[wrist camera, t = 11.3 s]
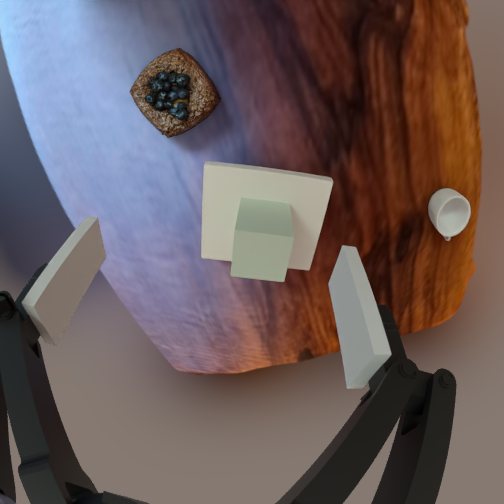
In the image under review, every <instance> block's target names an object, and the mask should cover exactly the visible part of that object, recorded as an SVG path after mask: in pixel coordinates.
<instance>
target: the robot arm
mask: <svg viewBox="0 0 504 504" xmlns="http://www.w3.org/2000/svg"><path fill="white" fill-rule="evenodd" d="M105 258H106V254H105V249H104V245H103V240H102V236H101V231H100V226H99V221H98V218H96V217H86V218H85V219H84V220H83V222H82V223H81V224H80V225H79V226H78V227H77V229H76V230H75V231H74V232H73V233H72V235H71V236H70V237H69V238H68V239H67V241H66V242H65V243H64V244H63V246H62V247H61V248H60V249H59V251H58V252H57V253H56V255H55V256H54V257H53V259H52V260H51V261H50V263H49V264H46V263H45V264H44V265H43V266H41V267H40V268H39V269H37V271H36V272H35V274H34V275H33V276H32V278H31V279H30V281H29V282H28V284H27V285H26V286H25V288H24V289H23V291H22V292H21V293H20V295H19V296H18V298H17V300H16V301H15V302H14V300H13V299H12V297H11V295H10V293H9V292H7V291H1V292H0V504H16V493H15V483H14V476H13V470H12V463H11V455H10V446H9V434H8V416H7V410H8V415H9V419H10V423H11V427H12V431H13V435H14V438H15V442H16V445H17V448H18V452H19V455H20V458H21V464H20V466H19V467H18V473H19V476H20V479H21V481H22V484H23V487H24V489H25V492H26V494H27V496H28V499H29V501H30V503H31V504H148V503H146V502H142V501H139V500H135V499H132V498H128V497H124V496H120V495H116V494H113V493H109V492H106V491H104V492H103V493H98V491H97V490H96V488H95V486H94V484H93V483H92V481H91V480H90V478H89V477H88V476H87V475H86V473H85V472H84V471H83V470H82V468H81V466H80V464H79V462H78V460H77V458H76V456H75V453H74V451H73V449H72V446H71V444H70V442H69V439H68V437H67V434H66V432H65V429H64V426H63V424H62V421H61V418H60V415H59V413H58V410H57V407H56V404H55V400H54V397H53V394H52V391H51V387H50V384H49V380H48V377H47V373H46V369H45V365H44V361H43V356H42V352H41V347H40V344H39V341H38V338H39V336H40V335H41V337H42V338H43V340H44V341H45V342H46V343H48V344H52V345H54V346H57V345H58V343H59V341H60V339H61V337H62V335H63V333H64V331H65V329H66V327H67V325H68V323H69V321H70V319H71V317H72V315H73V314H74V312H75V310H76V308H77V306H78V304H79V303H80V301H81V299H82V297H83V295H84V293H85V292H86V290H87V288H88V287H89V285H90V283H91V281H92V280H93V278H94V276H95V275H96V273H97V271H98V270H99V268H100V267H101V265H102V263H103V262H104V260H105ZM328 285H329V290H330V295H331V300H332V305H333V310H334V315H335V320H336V325H337V331H338V336H339V342H340V347H341V353H342V359H343V365H344V371H345V378H346V385H347V389H349V388H363V387H364V386H365V385H366V384H367V383H368V382H369V387H370V390H369V391H368V392H367V393H366V394H365V395H364V396H363V397H362V398H361V400H362V401H361V402H360V404H359V405H358V406H357V408H356V410H355V411H354V412H353V414H352V415H351V416H350V418H349V419H348V421H347V422H346V423H345V425H344V426H343V427H342V429H341V430H340V431H339V433H338V434H337V435H336V437H335V438H334V439H333V441H332V442H331V443H330V444H329V446H328V447H327V448H326V449H325V450H324V452H323V453H322V454H321V455H320V456H319V458H318V459H317V460H316V461H315V462H314V464H313V465H312V466H311V467H310V468H309V469H308V470H307V471H306V473H305V474H304V475H303V476H302V477H301V478H300V479H299V480H298V481H297V482H296V483H295V485H294V486H293V487H292V488H291V489H290V490H289V491H288V492H287V493H286V494H285V495H284V496H283V497H282V498H281V499H280V500H279V501H278V502H277V503H276V504H343V502H344V501H345V500H346V499H347V497H348V496H349V495H350V493H351V492H352V491H353V490H354V488H355V487H356V486H357V484H358V483H359V481H360V480H361V479H362V477H363V476H364V474H365V473H366V471H367V470H368V469H369V467H370V465H371V464H372V463H373V461H374V459H375V458H376V456H377V455H378V453H379V452H380V450H381V448H382V447H383V445H384V443H385V442H386V440H387V438H388V437H389V435H390V433H391V431H392V430H393V428H394V426H395V424H396V423H397V421H398V419H399V417H400V420H399V424H398V428H397V432H396V435H395V439H394V442H393V445H392V449H391V452H390V455H389V458H388V461H387V464H386V467H385V470H384V473H383V475H382V479H381V481H380V484H379V486H378V489H377V491H376V494H375V496H374V499H373V501H372V503H371V504H435V502H436V499H437V496H438V492H439V489H440V485H441V481H442V477H443V473H444V469H445V464H446V459H447V455H448V449H449V444H450V437H451V431H452V424H453V416H454V407H455V396H456V380H455V377H454V375H453V374H452V373H451V372H450V371H448V370H446V369H439V370H437V371H436V372H435V373H434V374H431V373H427V372H423V371H420V370H418V368H417V366H416V364H415V363H413V362H412V361H411V360H409V359H407V357H406V354H405V351H404V347H403V344H402V341H401V338H400V335H399V332H398V329H397V326H396V324H395V320H394V317H393V314H392V313H391V311H390V310H389V309H388V307H387V306H386V305H376V302H375V299H374V296H373V293H372V290H371V287H370V284H369V281H368V279H367V276H366V273H365V270H364V268H363V265H362V262H361V260H360V257H359V254H358V252H357V249H356V247H351V246H344V245H342V248H341V251H340V254H339V256H338V259H337V262H336V265H335V267H334V270H333V273H332V275H331V278H330V281H329V283H328ZM400 415H401V416H400Z"/></svg>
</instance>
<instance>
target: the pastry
mask: <svg viewBox="0 0 504 504" xmlns="http://www.w3.org/2000/svg"><path fill="white" fill-rule="evenodd" d="M130 93H131V95H132V97H133V99H134V102H135V103H136V105H137V107H138V108H139V110H140V111H141V112H142V114H143V115H144V116H145V117H146V118H147V119H148V121H150V122H151V123H152V124H153V125H154V126H155V127H156V128H157V129H158V130H159V131H160V132H162V135H166V136H167V138H169V137H172V136H177V135H180V134H183V133H184V132H186V131H188V130H190V129H191V128H193V127H195V126H196V125H197V124H199V123H200V122H202V121H203V120H205V119H206V118H207V117H208V116H209V115H210V114H211V113H212V112H213V110H214V109H215V107H216V106H217V105H218V103H219V102H220V99H221V98H220V95H219V93H218V91H217V89H216V87H215V85H214V84H213V82H212V81H211V79H210V78H209V77H208V75H207V74H206V72H205V71H204V70H203V69H202V67H201V66H200V65H199V63H198V62H197V61H196V60H195V59H194V58H193V57H192V56H191V55H190V54H188V53H187V52H185V51H183V50H182V49H180V48H179V49H175V50H172V51H168V52H166V53H164V54H162V55H161V56H159V57H157V58H156V59H154V60H153V61H152V62H151V63H150V64H149V65H148V66H147V67H146V68H145V69H144V70H143V71H142V72H141V74H140V75H139V77H138V78H137V80H136V81H135V83H134V84H133V86H132V88H131V90H130Z"/></svg>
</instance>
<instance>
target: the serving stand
mask: <svg viewBox="0 0 504 504" xmlns="http://www.w3.org/2000/svg"><path fill="white" fill-rule="evenodd" d="M332 185H333V180H332V178H330V177H325V176H319V175H313V174H307V173H301V172H294V171H288V170H281V169H273V168H266V167H258V166H250V165H241V164H232V163H222V162H211V161H206V162H205V164H204V178H203V204H202V249H201V258H208V259H216V260H225V261H232V253H233V242H234V231H235V225H236V220H237V215H238V210H239V205H240V200H241V197H243V198H252V199H260V200H268V201H276V202H283V203H290V208H291V216H292V223H293V231H294V241H293V246H292V250H291V254H290V259H289V263H288V267H287V268H292V269H301V270H310V266H311V263H312V260H313V256H314V253H315V249H316V246H317V242H318V238H319V235H320V231H321V228H322V224H323V220H324V216H325V213H326V209H327V205H328V201H329V197H330V193H331V189H332Z"/></svg>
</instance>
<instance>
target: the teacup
mask: <svg viewBox="0 0 504 504" xmlns="http://www.w3.org/2000/svg"><path fill="white" fill-rule="evenodd" d="M428 213H429V217H430V220H431V221H432V223H433V224H434V226H435V228H436V229H437V230H438V231H439V232H440V233H441V234H442V235H443V236H444V238H445V240H446V241H449V240H450V239H451V236H455V235H457V234H458V233H460V232H461V231H462V230H463V229H464V228H465V226H466V225H467V223H468V221H469V218H470V205H469V202H468V201H467V199H466V198H465V197H463V196H462V195H461V194H459V193H458V192H456V191H455V190H453V189H449V188H445V189H441V190H438V191H437V192H435V193H434V194H433V196H432V197H431V199H430V201H429V205H428ZM447 237H448V238H447Z"/></svg>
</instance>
